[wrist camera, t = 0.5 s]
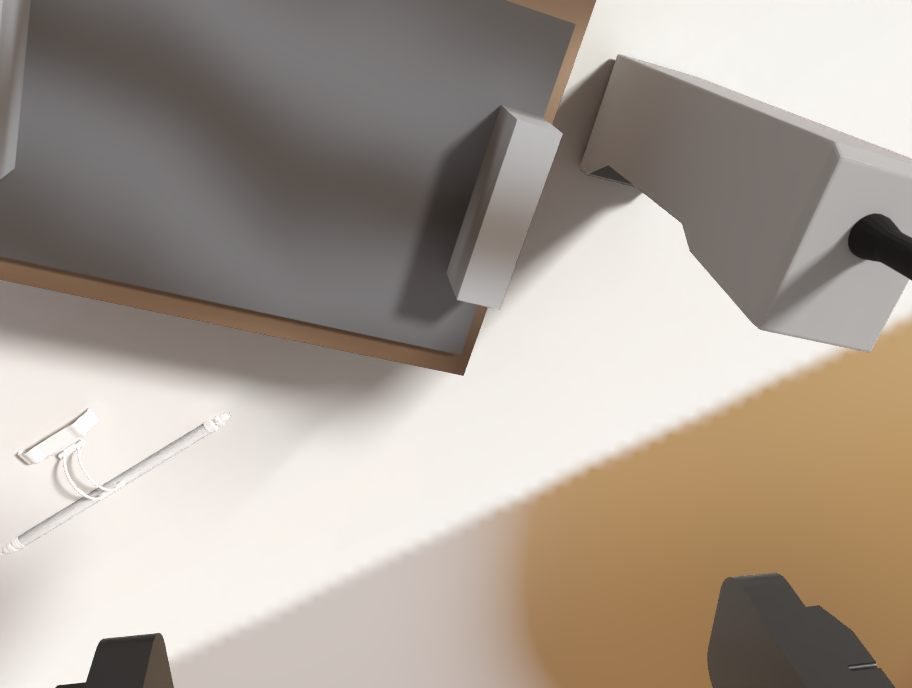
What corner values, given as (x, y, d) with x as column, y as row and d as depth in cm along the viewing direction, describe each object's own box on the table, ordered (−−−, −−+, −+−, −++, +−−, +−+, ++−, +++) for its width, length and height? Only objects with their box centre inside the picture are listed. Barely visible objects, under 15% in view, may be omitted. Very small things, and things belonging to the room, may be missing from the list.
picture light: (8, 553, 41) (-7, 582, 39) (-60, 496, 39) (-79, 525, 37) (237, 413, 40) (233, 437, 38) (178, 347, 38) (171, 368, 36)
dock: (53, -190, 28) (-75, -249, 19) (539, -18, 33) (628, 2, 23) (15, 199, 33) (-99, 301, 24) (437, 297, 38) (476, 413, 29)
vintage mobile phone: (576, 167, 36) (984, 535, 14) (615, 52, 34) (1159, 272, 12) (651, 186, 37) (1144, 559, 15) (693, 75, 35) (1331, 317, 13)
